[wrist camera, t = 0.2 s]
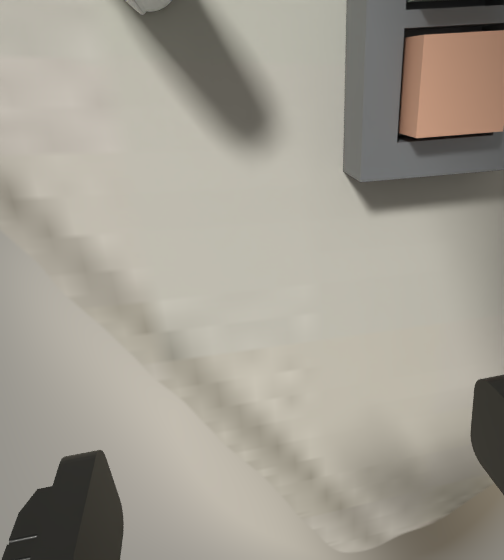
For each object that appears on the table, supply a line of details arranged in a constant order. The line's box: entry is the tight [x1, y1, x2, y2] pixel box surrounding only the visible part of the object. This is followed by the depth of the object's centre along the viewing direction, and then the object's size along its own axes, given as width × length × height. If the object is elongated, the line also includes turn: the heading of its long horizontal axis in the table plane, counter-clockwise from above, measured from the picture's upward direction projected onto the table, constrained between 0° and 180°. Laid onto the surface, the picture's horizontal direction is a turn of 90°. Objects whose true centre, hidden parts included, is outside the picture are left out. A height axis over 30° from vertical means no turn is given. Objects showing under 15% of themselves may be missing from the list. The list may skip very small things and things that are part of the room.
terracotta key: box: [399, 30, 504, 138], centre depth 32 cm, size 6×6×3 cm
